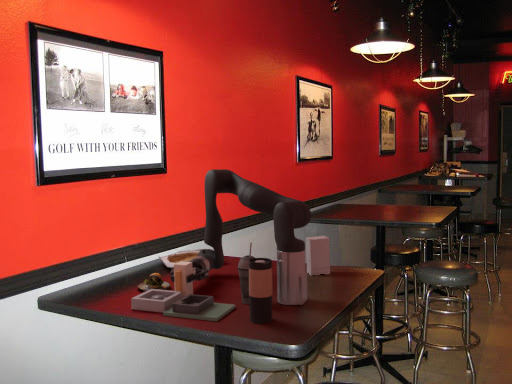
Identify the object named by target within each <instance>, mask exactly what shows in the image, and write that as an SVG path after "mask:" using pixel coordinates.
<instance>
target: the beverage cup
mask: <svg viewBox="0 0 512 384" xmlns="http://www.w3.org/2000/svg"><path fill="white" fill-rule="evenodd" d="M252 244H253V243H252V242H250V243H249V253H248V255H244V256H242V257H241V258H240V259H239V261H238V265H237V272H238V276H239V284H240V294H241V295H240V296H241V300H242V301H241V303H242V304H244V305H249V260H250V259H253V258H256V257H255V256H253V255H252V247H253V246H252Z"/></svg>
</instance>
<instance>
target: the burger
mask: <svg viewBox="0 0 512 384" xmlns="http://www.w3.org/2000/svg"><path fill="white" fill-rule="evenodd" d="M158 270H159V268H157V270H156V272H154V273H151V274H150V275H149V279H147V278H145V279H144V280H143V282H142V283H139V284H138V285H137V286H136V287H137V290H139V289H140V290H141V291H144V292H146V291H148V290H150V289H158V290H169V291H170V290H171V289H172V288H171V284H170V282H169V281H168V282H167V281H164V280H163V279H162V278H163V277H162V275H161V274H160V273H159V272H158Z"/></svg>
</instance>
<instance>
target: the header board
mask: <svg viewBox="0 0 512 384" xmlns="http://www.w3.org/2000/svg"><path fill="white" fill-rule="evenodd" d="M214 299H215V298H214V295H213V296H212V295H202V294H201V295H200V294H194V293H193V294H189V295H187V296H185V297H184V298H182V299H180V300H178V301H176V302H175V303H173V304H172V308H170V309H168V310H166V311H165V312H163V313H162V315H163V316H165V317H174V318H181V319H182V318H183V319H192V320H193V319H194V320H201V321H209V322H218V321H220V320H221V319H222V318H224V317H225V316H226V315H228V314H230V312H232V311H233V310H234V309H235V308H236V304H233V303H221V302H215V301H214Z"/></svg>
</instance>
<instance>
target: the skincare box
mask: <svg viewBox="0 0 512 384" xmlns="http://www.w3.org/2000/svg"><path fill="white" fill-rule="evenodd" d="M330 252H331V251H330V238H329V237H328V236H326V235H319V236H318V235H317V236H307V237H305V258H306V272H307V274H308V273H309V274H308V275H309V276H311V277H313V276H312V275H315V276H321V275H320V274H325V275H330V274H331V261H330V259H331V258H330V256H331V253H330Z"/></svg>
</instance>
